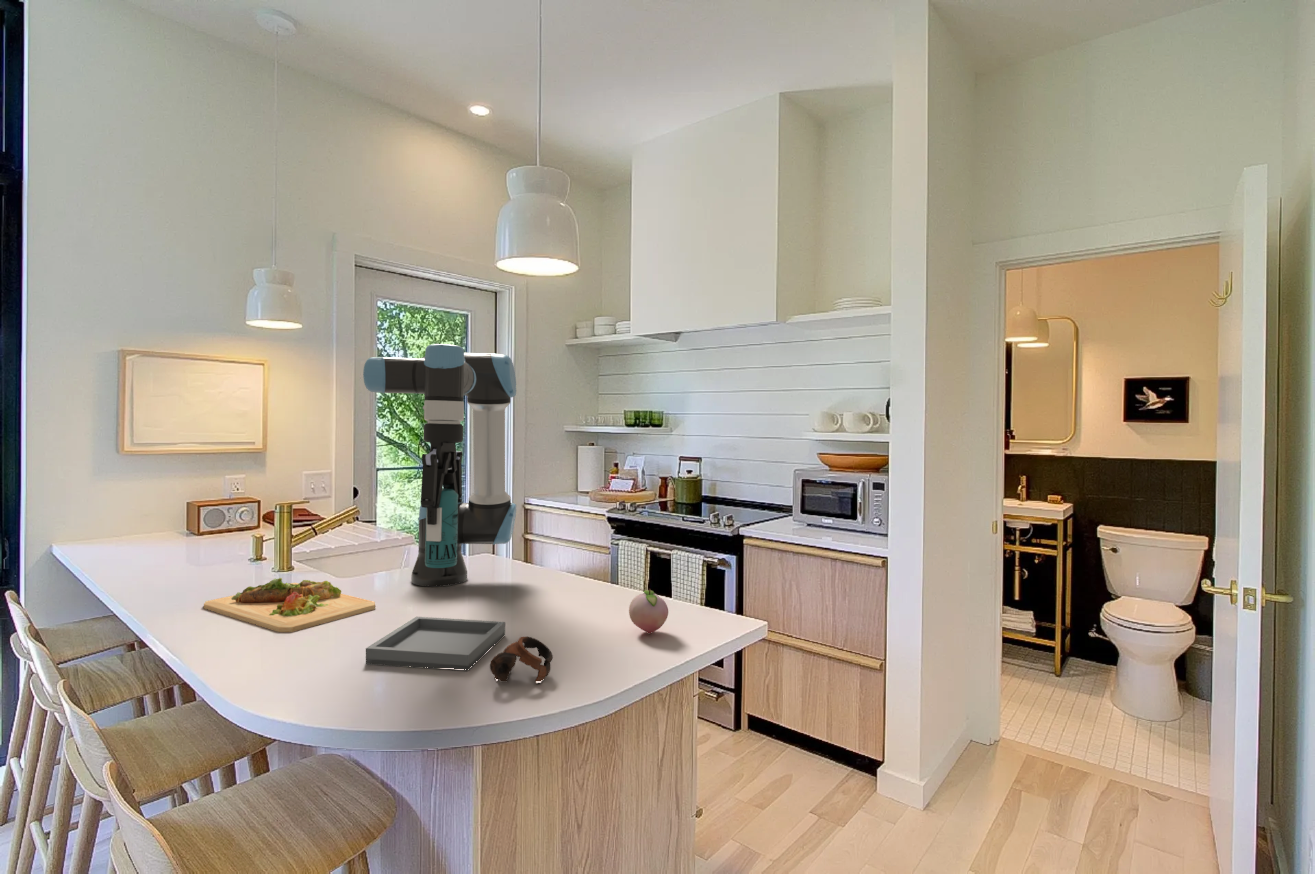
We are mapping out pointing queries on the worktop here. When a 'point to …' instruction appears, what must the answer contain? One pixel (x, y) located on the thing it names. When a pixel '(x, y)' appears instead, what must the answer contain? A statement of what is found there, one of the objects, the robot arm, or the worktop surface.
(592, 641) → the worktop surface
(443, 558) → the beverage bottle
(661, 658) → the worktop surface
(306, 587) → the cutting board
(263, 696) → the worktop surface
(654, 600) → the decorative fruit
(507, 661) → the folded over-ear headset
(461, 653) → the tray
